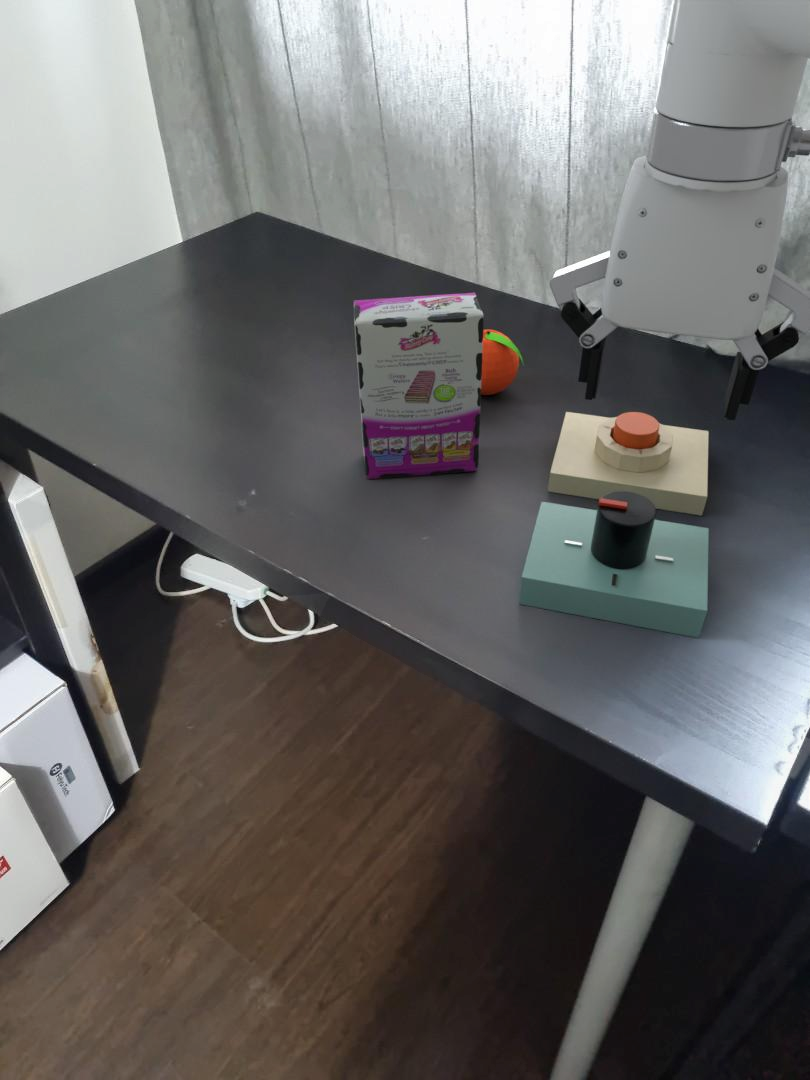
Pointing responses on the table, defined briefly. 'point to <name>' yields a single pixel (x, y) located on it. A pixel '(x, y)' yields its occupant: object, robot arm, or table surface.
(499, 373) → the clementine
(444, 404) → the candy bar box
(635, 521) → the knob
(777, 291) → the robot arm
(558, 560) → the dial panel
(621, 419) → the power button
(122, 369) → the table surface
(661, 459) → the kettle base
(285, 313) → the table surface
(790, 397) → the table surface
